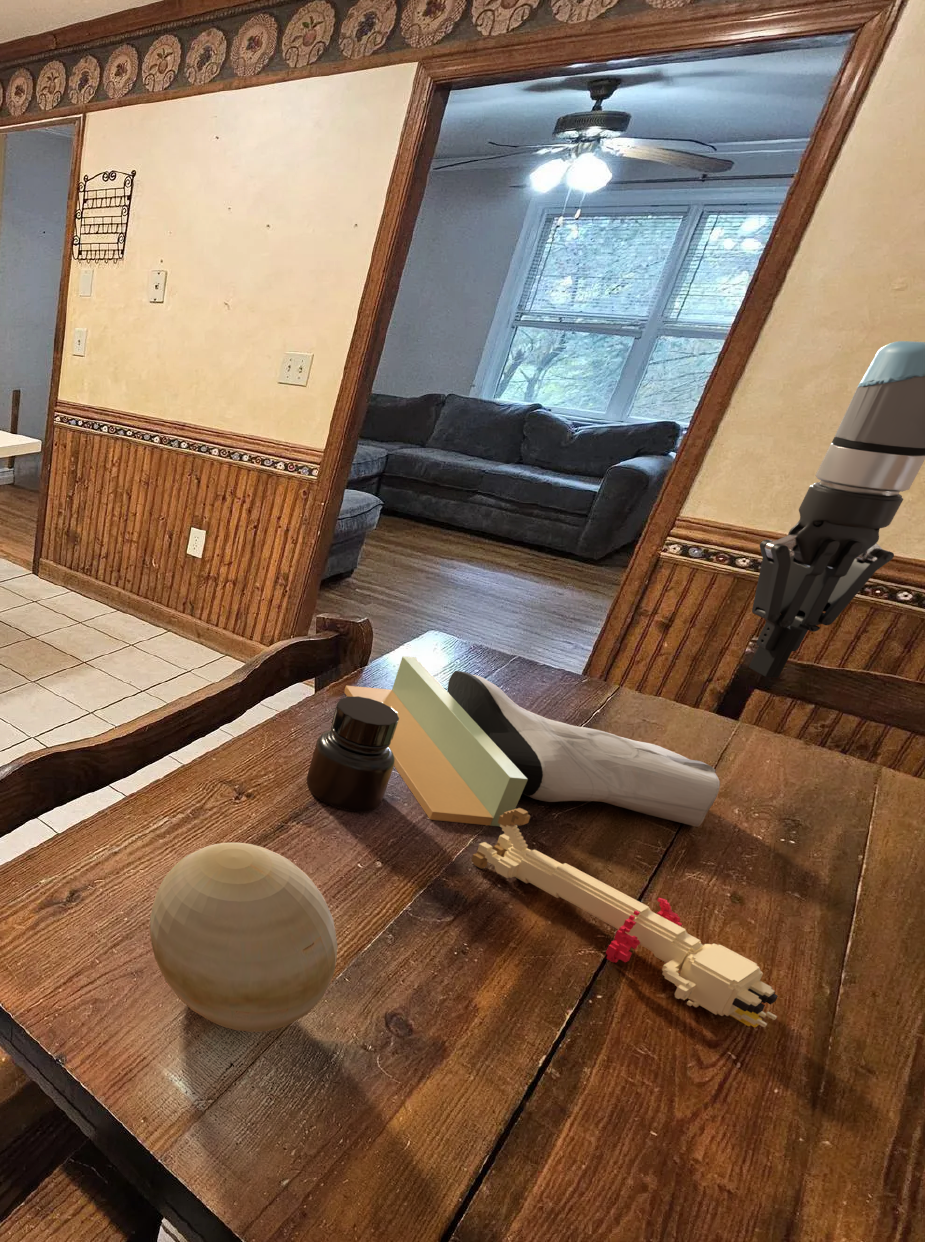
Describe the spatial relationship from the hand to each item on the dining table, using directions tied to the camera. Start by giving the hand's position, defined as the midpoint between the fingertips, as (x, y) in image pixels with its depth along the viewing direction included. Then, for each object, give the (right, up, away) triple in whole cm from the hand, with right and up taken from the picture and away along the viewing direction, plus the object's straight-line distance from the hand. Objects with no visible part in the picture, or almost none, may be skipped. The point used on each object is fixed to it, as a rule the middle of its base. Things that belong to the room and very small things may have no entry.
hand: (763, 672), depth 99 cm
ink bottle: (-53, -15, 0) cm, 55 cm away
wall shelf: (-38, -11, +10) cm, 41 cm away
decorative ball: (-77, -28, -29) cm, 87 cm away
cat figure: (-36, -26, -20) cm, 49 cm away
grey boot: (-19, -13, +9) cm, 25 cm away
